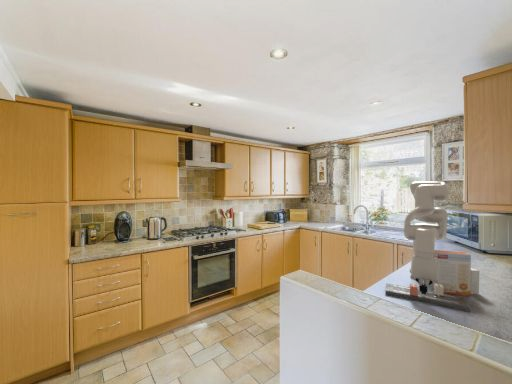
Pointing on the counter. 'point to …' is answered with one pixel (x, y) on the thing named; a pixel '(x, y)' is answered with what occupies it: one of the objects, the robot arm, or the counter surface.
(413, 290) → the rust fader
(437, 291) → the block
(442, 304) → the console
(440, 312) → the counter surface
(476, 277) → the skincare box
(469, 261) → the cracker box
